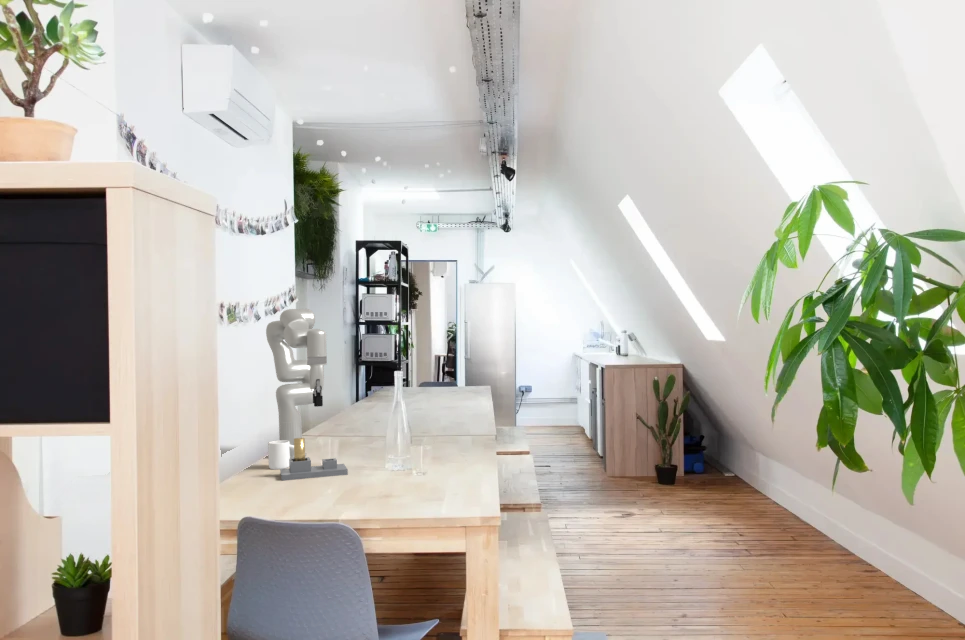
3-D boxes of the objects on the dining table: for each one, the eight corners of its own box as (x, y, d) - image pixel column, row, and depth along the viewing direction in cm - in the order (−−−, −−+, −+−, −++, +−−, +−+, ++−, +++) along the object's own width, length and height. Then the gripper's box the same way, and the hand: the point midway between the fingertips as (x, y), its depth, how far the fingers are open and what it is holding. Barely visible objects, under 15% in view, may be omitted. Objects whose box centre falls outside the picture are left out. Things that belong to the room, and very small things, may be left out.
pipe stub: (294, 469, 276) (293, 438, 276) (305, 468, 277) (304, 437, 277) (294, 471, 272) (294, 439, 272) (305, 470, 274) (305, 438, 274)
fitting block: (280, 474, 278) (280, 458, 278) (343, 468, 286) (343, 453, 286) (281, 480, 267) (281, 464, 267) (347, 474, 274) (347, 458, 274)
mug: (301, 464, 297) (300, 439, 297) (297, 468, 288) (296, 442, 289) (271, 466, 296) (270, 440, 296) (266, 470, 288) (265, 444, 288)
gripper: (306, 360, 292) (307, 402, 293) (307, 363, 276) (308, 408, 276) (325, 359, 294) (326, 401, 295) (328, 362, 278) (329, 407, 278)
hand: (317, 404), depth 285 cm, fingers open, 9 cm apart
